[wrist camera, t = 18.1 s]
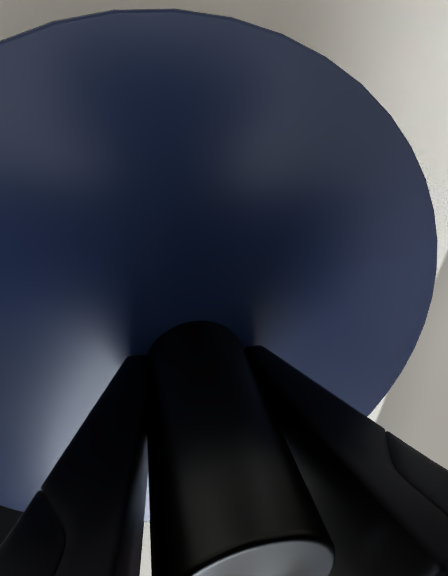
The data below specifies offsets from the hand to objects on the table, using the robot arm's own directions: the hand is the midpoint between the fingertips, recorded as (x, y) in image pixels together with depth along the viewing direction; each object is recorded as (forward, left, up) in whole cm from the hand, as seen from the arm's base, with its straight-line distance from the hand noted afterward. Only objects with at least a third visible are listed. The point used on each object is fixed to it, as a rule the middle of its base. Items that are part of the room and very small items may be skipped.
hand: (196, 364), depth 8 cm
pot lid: (0, 0, -1) cm, 1 cm away
